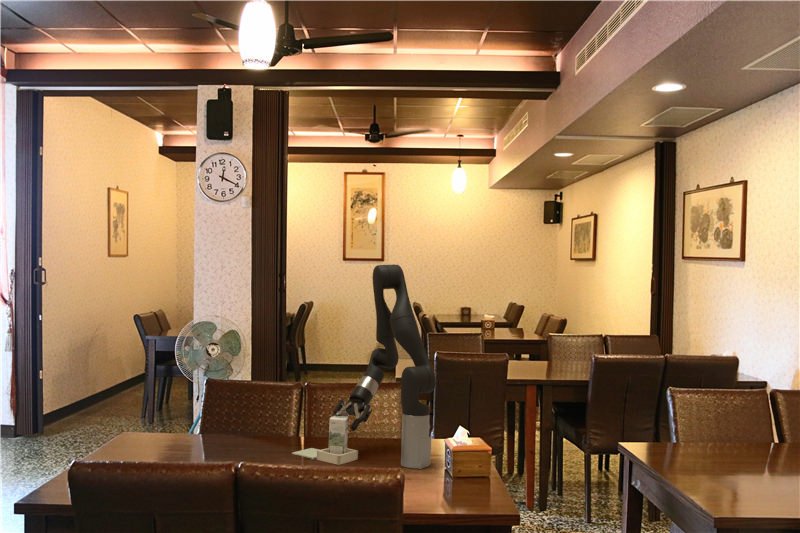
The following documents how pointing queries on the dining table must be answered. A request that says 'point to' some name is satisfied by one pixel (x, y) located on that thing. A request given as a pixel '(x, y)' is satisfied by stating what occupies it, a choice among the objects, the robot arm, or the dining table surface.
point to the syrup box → (338, 435)
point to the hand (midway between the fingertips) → (342, 427)
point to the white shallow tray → (329, 455)
